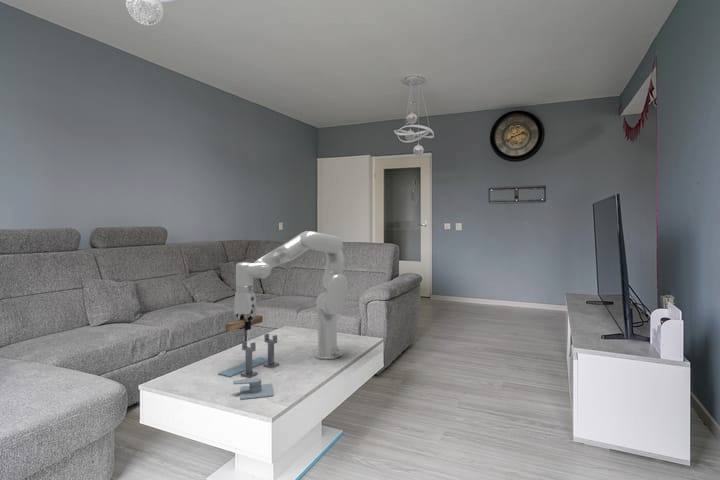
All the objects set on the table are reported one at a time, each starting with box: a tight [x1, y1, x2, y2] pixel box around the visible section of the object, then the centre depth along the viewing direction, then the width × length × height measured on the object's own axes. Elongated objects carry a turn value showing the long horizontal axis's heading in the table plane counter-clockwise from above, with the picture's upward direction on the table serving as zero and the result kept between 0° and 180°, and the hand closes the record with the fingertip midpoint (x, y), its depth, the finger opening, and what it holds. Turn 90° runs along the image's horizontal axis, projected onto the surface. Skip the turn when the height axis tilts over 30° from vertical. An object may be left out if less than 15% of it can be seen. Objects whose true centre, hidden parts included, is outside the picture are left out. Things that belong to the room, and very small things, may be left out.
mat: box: [218, 356, 268, 378], centre depth 192 cm, size 7×26×1 cm, turn 150°
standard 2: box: [262, 333, 280, 369], centre depth 193 cm, size 6×5×14 cm
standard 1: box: [240, 340, 258, 379], centre depth 181 cm, size 6×5×14 cm
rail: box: [225, 314, 264, 332], centre depth 191 cm, size 3×20×3 cm, turn 150°
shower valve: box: [232, 377, 275, 401], centre depth 163 cm, size 12×6×15 cm
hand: (244, 328), depth 191 cm, fingers closed on rail, 3 cm apart
